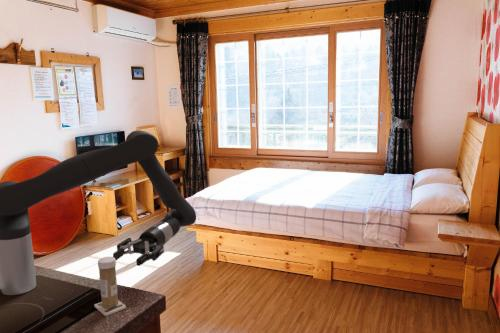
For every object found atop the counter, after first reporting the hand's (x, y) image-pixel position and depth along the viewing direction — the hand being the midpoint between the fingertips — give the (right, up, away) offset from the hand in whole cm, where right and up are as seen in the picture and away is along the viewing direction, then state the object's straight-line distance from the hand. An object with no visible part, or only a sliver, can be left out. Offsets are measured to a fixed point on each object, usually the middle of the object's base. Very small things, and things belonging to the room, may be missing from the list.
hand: (125, 260), depth 119 cm
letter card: (-2, -11, -9) cm, 14 cm away
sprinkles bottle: (-2, -11, -8) cm, 14 cm away
